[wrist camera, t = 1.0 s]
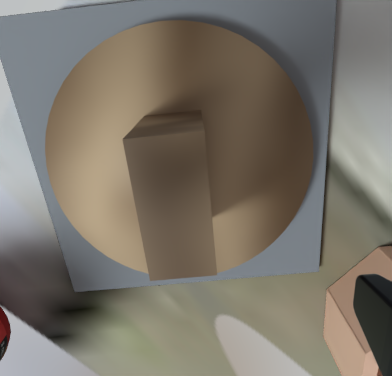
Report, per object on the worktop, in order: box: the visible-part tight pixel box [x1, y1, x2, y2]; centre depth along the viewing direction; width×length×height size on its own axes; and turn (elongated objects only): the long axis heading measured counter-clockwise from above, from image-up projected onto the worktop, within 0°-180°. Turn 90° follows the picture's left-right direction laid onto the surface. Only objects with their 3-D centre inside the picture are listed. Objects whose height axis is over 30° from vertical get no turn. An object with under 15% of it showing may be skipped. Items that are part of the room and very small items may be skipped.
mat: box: [0, 0, 337, 292], centre depth 17 cm, size 16×16×1 cm
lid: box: [45, 20, 313, 281], centre depth 14 cm, size 14×14×6 cm
